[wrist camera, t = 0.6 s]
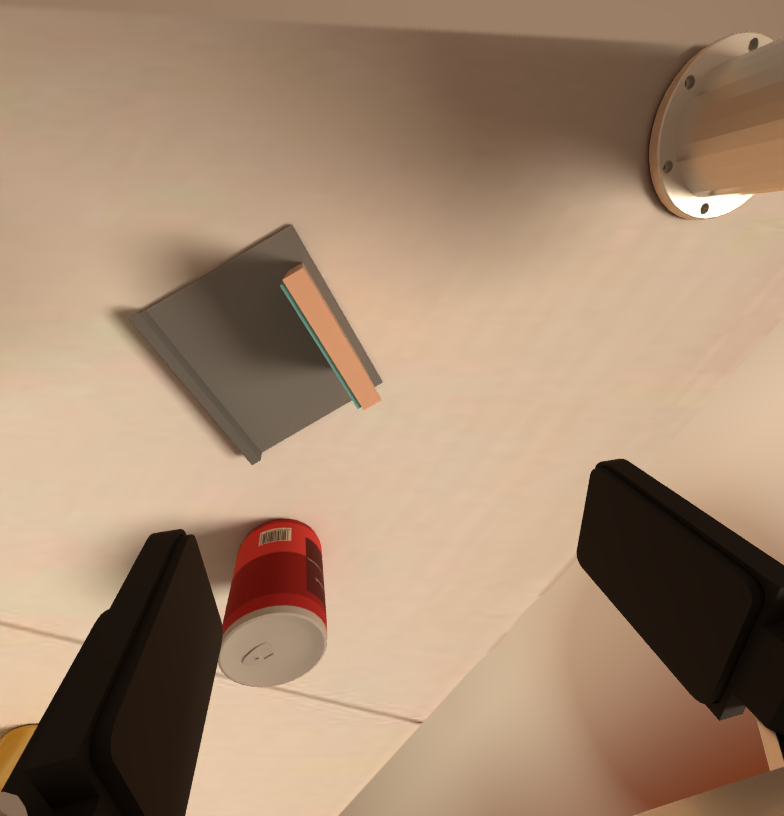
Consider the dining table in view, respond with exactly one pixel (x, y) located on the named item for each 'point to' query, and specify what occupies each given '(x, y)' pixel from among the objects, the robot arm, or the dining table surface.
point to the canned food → (275, 606)
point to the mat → (251, 346)
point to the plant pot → (13, 749)
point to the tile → (329, 335)
